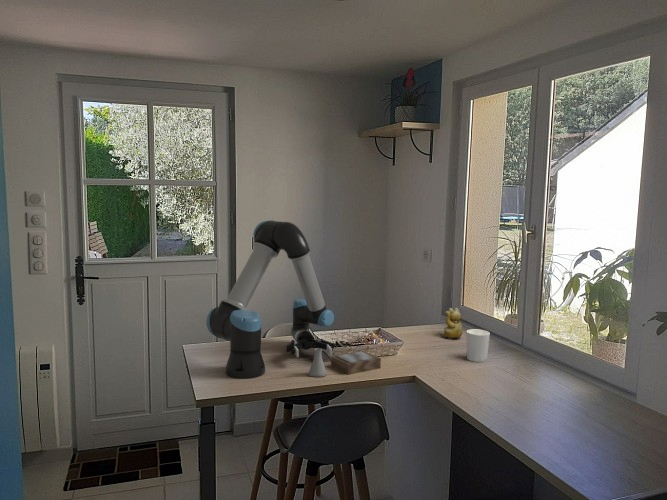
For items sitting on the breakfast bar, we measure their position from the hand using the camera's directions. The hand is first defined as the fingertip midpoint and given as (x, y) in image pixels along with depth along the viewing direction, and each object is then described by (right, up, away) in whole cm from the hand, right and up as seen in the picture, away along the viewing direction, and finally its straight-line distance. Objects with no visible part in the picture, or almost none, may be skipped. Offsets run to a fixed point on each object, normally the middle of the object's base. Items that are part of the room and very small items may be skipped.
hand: (314, 353), depth 217 cm
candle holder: (+69, -6, +17) cm, 71 cm away
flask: (+1, -7, -8) cm, 10 cm away
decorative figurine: (+67, -3, +51) cm, 84 cm away
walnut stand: (+17, -6, +2) cm, 18 cm away
